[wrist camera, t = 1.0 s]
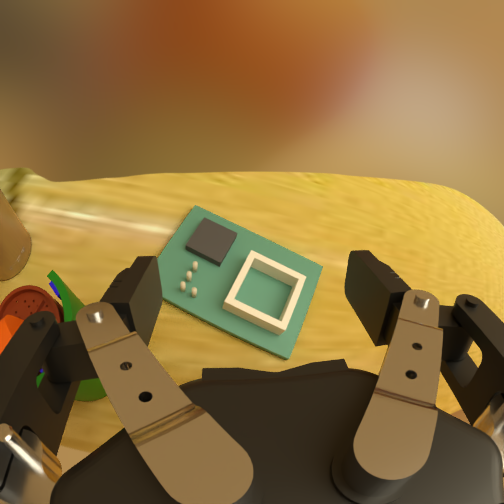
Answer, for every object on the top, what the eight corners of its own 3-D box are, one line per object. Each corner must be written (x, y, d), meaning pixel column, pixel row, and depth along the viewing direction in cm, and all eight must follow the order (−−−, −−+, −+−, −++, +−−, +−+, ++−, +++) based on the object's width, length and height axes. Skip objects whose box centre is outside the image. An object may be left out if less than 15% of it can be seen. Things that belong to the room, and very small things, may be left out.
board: (141, 287, 35) (137, 275, 32) (195, 209, 42) (196, 193, 39) (286, 360, 34) (295, 355, 31) (320, 269, 41) (330, 258, 38)
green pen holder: (88, 309, 32) (12, 216, 15) (139, 357, 31) (81, 300, 14) (41, 366, 27) (-68, 315, 10) (90, 418, 26) (-13, 421, 8)
